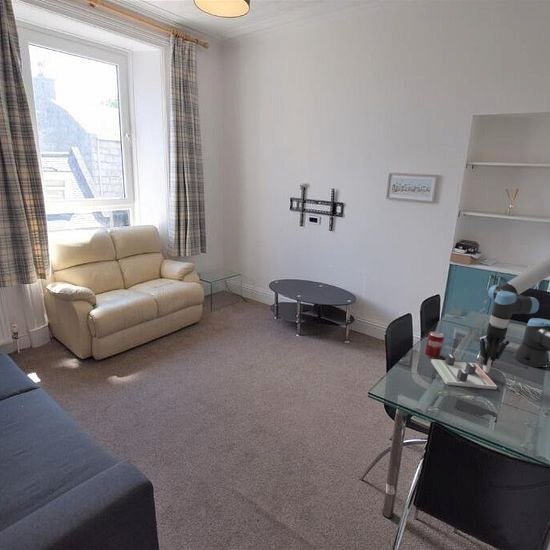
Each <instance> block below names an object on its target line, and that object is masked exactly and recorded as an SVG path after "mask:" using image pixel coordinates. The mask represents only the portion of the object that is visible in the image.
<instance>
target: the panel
mask: <svg viewBox="0 0 550 550" xmlns="http://www.w3.org/2000/svg"><path fill="white" fill-rule="evenodd" d="M430 363H431V364H432V366H433V367H434V368H435V370H436V371H437V373H438V374H439V375H440V378H442V380H443V382H444V383H445V384H447V385H449V386H459V387H466V388H467V387H469V388H478V389H488V390H497V389H498V386H497V385H496V383H495V382H494V381H493V380H492V379H491V378H490V377H489V376H488V375H487V374H486V373H485V372H484V371H483V370H482V369H483V368H481V367H480V366H479V365H478V364H477V363H476V362H475V363H474V362H471V363H472V364H474V365H475V366H476V370H475V374H474V375H473V374H468V377H467V380H466V381H459V380H458V378H457V374H458V370H461V369H463V370H465V369H466V365H467V363H468V362H464V361H456V360H455V361H454V365H447V364H446V362H445V360H443V359H437V358H436V359H435V358H431V359H430Z"/></svg>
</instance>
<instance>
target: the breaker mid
mask: <svg viewBox="0 0 550 550" xmlns="http://www.w3.org/2000/svg"><path fill="white" fill-rule="evenodd" d="M466 363H467V365H466V369H465V370H466V372H467V373H468V374H473V375H474V374H475V370H476V366H475V365H474V364H472V363H473V362H466Z"/></svg>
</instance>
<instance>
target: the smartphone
mask: <svg viewBox="0 0 550 550" xmlns="http://www.w3.org/2000/svg"><path fill="white" fill-rule="evenodd" d="M453 407H454V409H456V408H457V409H456V410H459V409H460V410H459V411H461V410H462V411H461V412H464V411H465V412H464V413H466V412H468V413H467V414H469V413H471V414H470V415H472V414H474V415H473V416H475V415H478V416H483V415H485V414H486V415H487V414H489V415H492V416H493V417H496V416H497V412H495V411H492V410H489V409H487V408H484V407H482V406H478V405H476V404H474V403H471V402H469V401H466V400H463V399H460V398H456V399H455V401H454V405H453ZM478 416H477V417H478ZM496 418H497V417H496Z"/></svg>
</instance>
